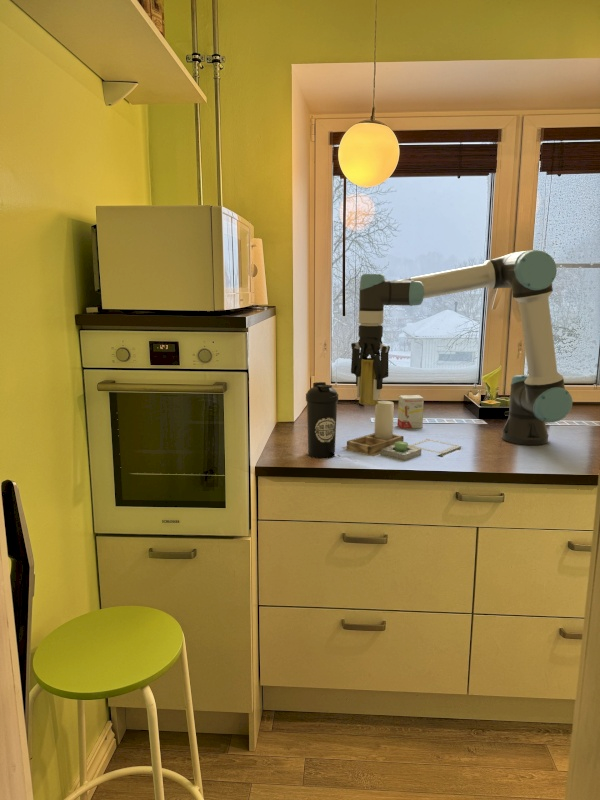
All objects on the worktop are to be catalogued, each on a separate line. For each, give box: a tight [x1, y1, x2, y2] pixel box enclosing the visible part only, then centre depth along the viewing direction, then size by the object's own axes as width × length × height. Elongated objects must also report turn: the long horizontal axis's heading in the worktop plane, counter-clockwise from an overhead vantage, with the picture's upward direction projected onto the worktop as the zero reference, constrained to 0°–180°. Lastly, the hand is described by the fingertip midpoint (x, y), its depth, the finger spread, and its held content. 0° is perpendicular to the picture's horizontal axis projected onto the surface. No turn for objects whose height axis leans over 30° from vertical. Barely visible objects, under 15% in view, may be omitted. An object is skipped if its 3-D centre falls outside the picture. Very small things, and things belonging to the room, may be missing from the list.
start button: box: [395, 441, 409, 451], centre depth 184 cm, size 4×4×2 cm
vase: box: [358, 357, 379, 406], centre depth 186 cm, size 6×6×14 cm
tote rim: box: [408, 438, 462, 458], centre depth 194 cm, size 13×12×1 cm
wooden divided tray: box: [342, 432, 404, 457], centre depth 194 cm, size 13×19×4 cm
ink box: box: [397, 394, 425, 429], centre depth 223 cm, size 9×5×12 cm, turn 99°
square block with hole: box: [380, 444, 422, 462], centre depth 184 cm, size 9×9×3 cm
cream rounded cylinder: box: [374, 400, 395, 440], centre depth 195 cm, size 6×6×14 cm
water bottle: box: [305, 381, 339, 460], centre depth 186 cm, size 10×10×23 cm
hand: (368, 397), depth 187 cm, fingers closed on vase, 6 cm apart
